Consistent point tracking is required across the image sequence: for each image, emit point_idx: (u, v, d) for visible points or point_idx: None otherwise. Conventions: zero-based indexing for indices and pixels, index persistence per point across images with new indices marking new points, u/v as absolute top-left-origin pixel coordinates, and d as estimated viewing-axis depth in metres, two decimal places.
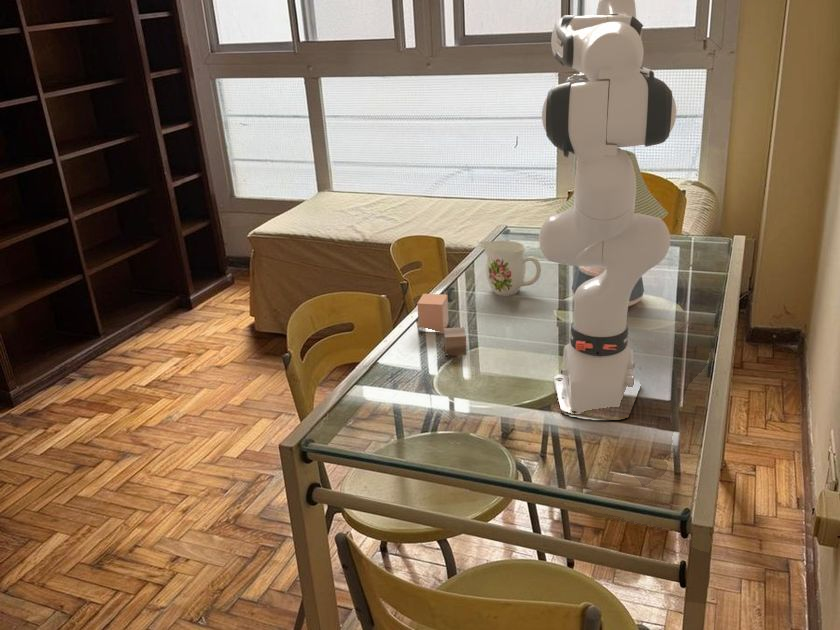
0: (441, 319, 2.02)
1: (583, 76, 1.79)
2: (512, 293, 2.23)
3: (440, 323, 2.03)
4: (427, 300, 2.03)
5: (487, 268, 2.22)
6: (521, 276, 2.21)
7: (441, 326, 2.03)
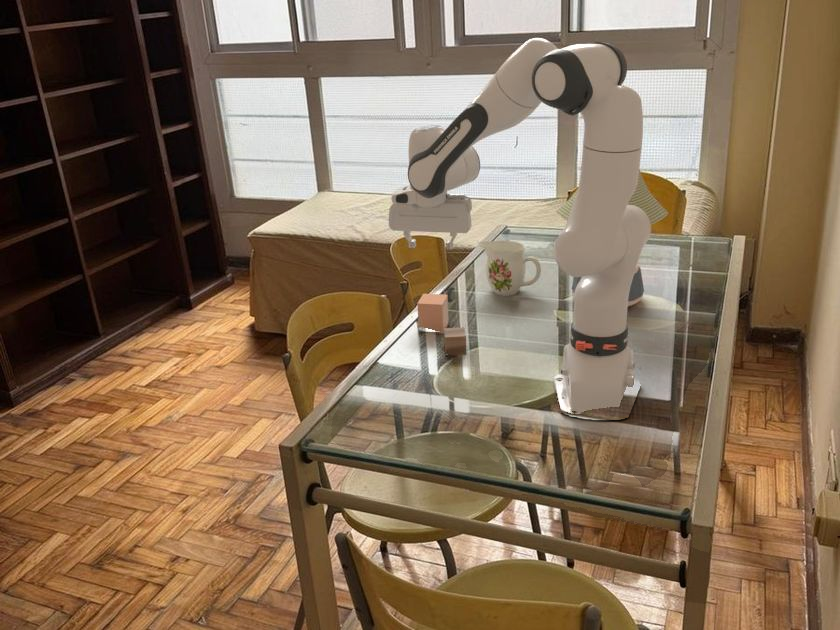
0: (441, 319, 2.02)
1: None
2: (512, 293, 2.23)
3: (440, 323, 2.03)
4: (427, 300, 2.03)
5: (487, 268, 2.22)
6: (521, 276, 2.21)
7: (441, 326, 2.03)
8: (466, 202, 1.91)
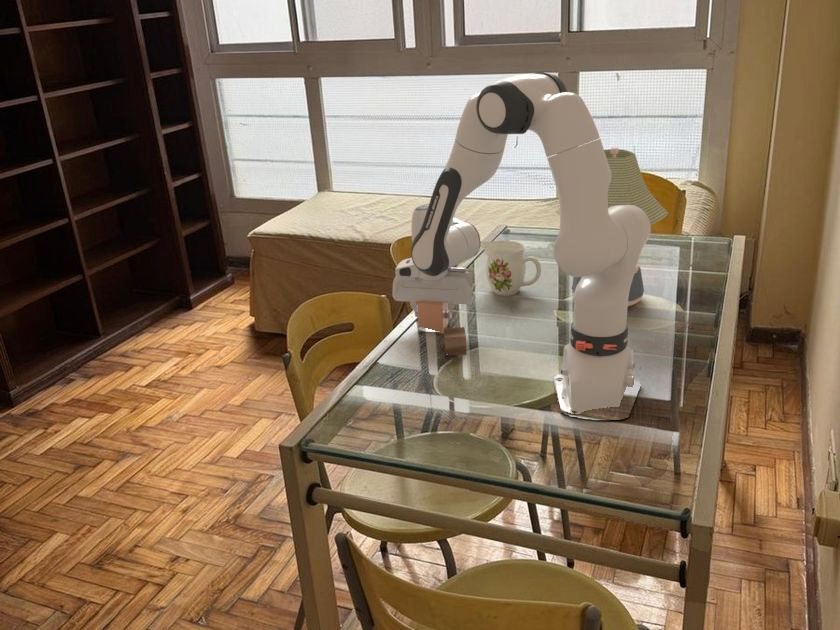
0: (441, 319, 2.02)
1: None
2: (512, 293, 2.23)
3: (440, 323, 2.03)
4: None
5: (487, 268, 2.22)
6: (521, 276, 2.21)
7: (441, 326, 2.03)
8: (467, 275, 1.99)
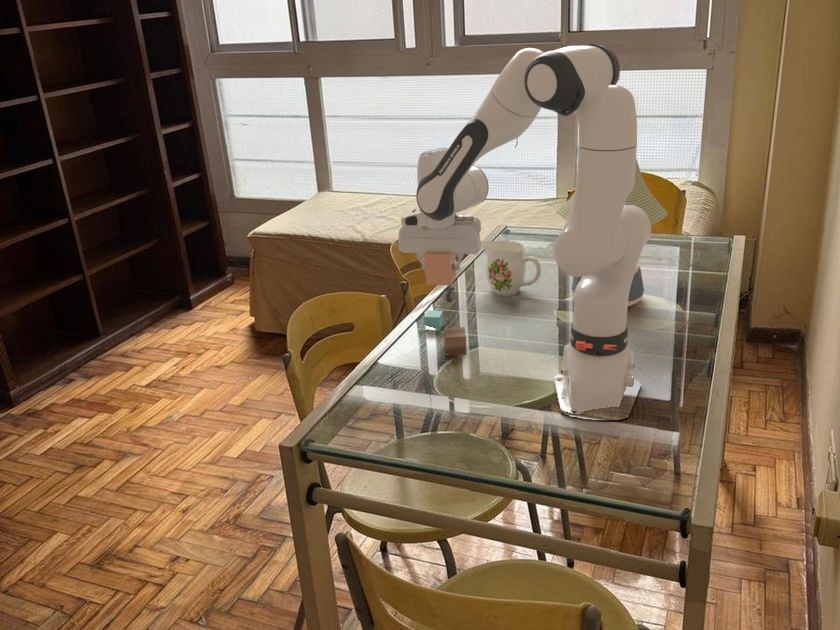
0: (449, 270, 1.96)
1: None
2: (512, 293, 2.23)
3: (448, 274, 1.96)
4: None
5: (487, 268, 2.22)
6: (521, 276, 2.21)
7: (449, 277, 1.96)
8: (475, 223, 1.92)
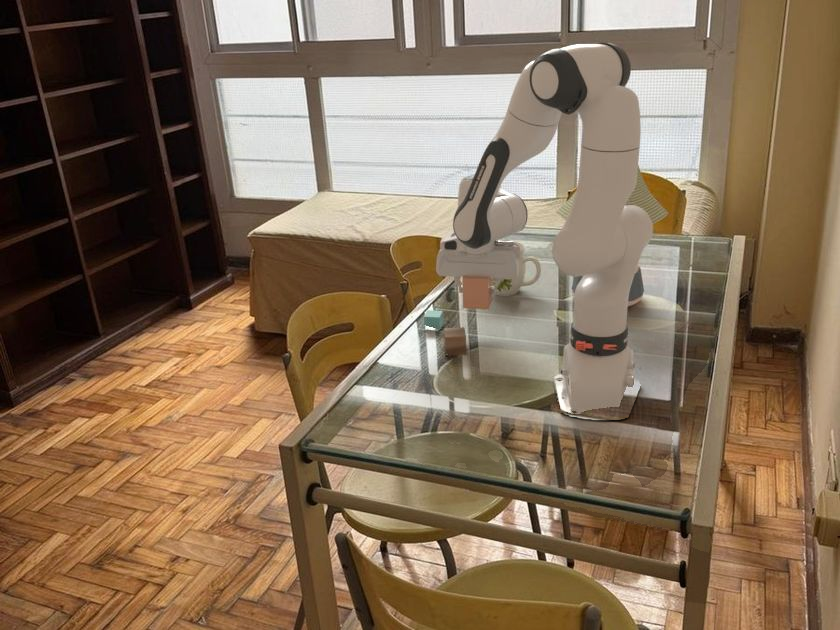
0: (486, 295, 1.95)
1: None
2: (512, 293, 2.23)
3: (485, 299, 1.96)
4: None
5: None
6: (521, 276, 2.21)
7: (486, 302, 1.96)
8: (515, 249, 1.92)
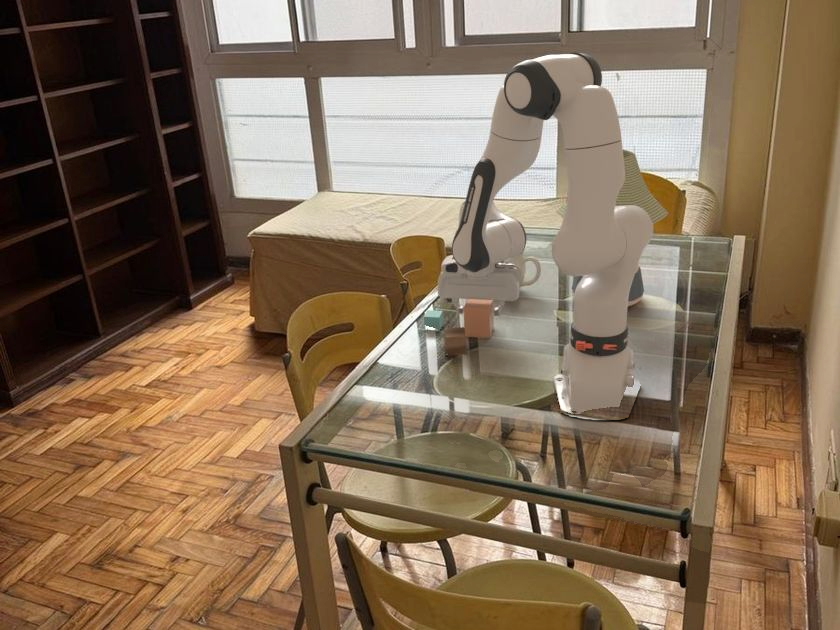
0: (488, 324, 1.98)
1: None
2: None
3: (487, 327, 1.99)
4: (473, 304, 1.99)
5: None
6: (521, 276, 2.21)
7: (488, 330, 1.99)
8: (515, 271, 1.94)
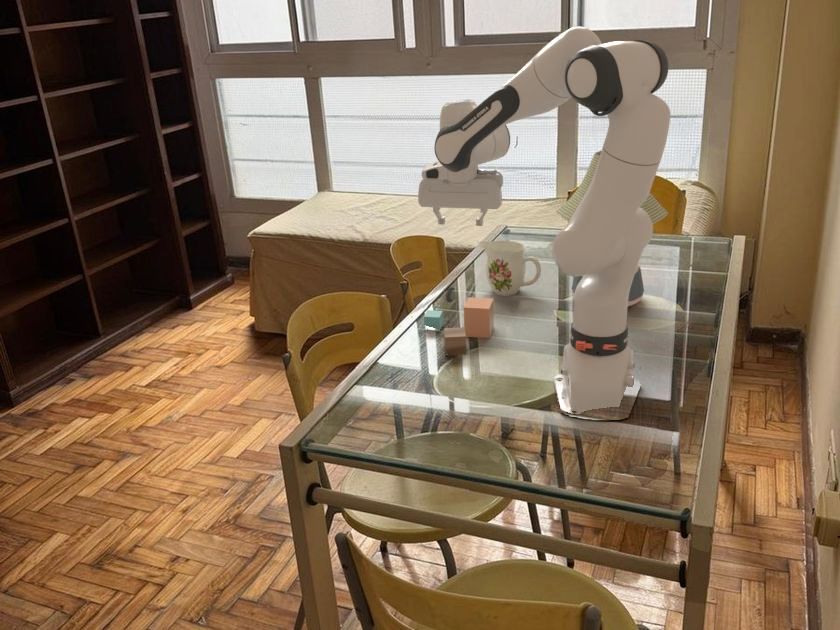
0: (488, 324, 1.98)
1: None
2: (512, 293, 2.23)
3: (487, 327, 1.99)
4: (473, 304, 1.99)
5: (487, 268, 2.22)
6: (521, 276, 2.21)
7: (488, 330, 1.99)
8: (497, 177, 1.89)
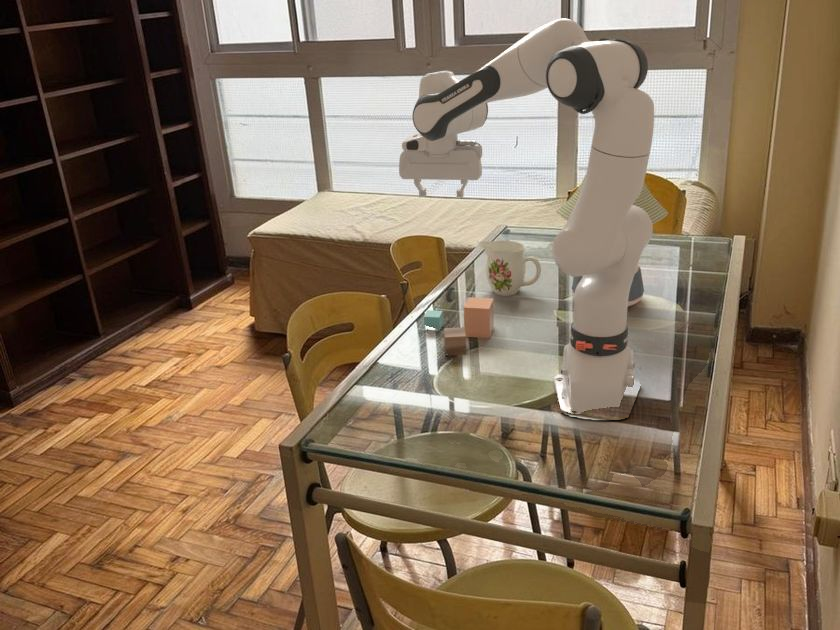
0: (488, 324, 1.98)
1: None
2: (512, 293, 2.23)
3: (487, 327, 1.99)
4: (473, 304, 1.99)
5: (487, 268, 2.22)
6: (521, 276, 2.21)
7: (488, 330, 1.99)
8: (477, 148, 1.91)
